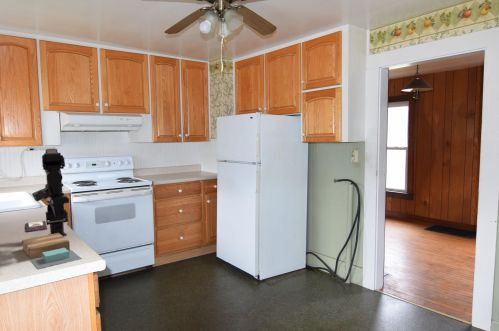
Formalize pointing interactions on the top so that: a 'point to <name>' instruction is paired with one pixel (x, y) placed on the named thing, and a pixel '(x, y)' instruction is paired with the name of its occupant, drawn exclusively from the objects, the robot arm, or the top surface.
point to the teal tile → (55, 255)
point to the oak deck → (44, 244)
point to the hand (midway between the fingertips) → (56, 217)
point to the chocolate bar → (36, 226)
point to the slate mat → (41, 263)
